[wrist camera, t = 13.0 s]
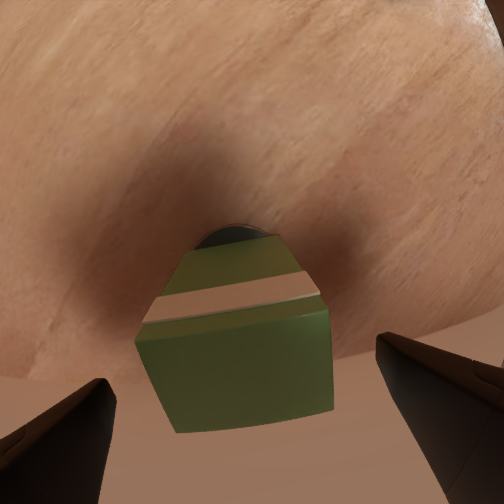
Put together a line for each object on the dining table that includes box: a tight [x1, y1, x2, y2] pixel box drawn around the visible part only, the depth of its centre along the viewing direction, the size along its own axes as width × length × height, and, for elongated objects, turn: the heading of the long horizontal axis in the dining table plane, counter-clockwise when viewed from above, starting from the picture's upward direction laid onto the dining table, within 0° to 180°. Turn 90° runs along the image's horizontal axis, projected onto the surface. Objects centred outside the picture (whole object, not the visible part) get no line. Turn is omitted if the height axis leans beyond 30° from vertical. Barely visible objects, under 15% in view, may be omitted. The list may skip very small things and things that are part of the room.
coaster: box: [194, 224, 270, 250], centre depth 18 cm, size 6×6×1 cm
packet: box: [135, 235, 334, 433], centre depth 13 cm, size 10×6×10 cm
